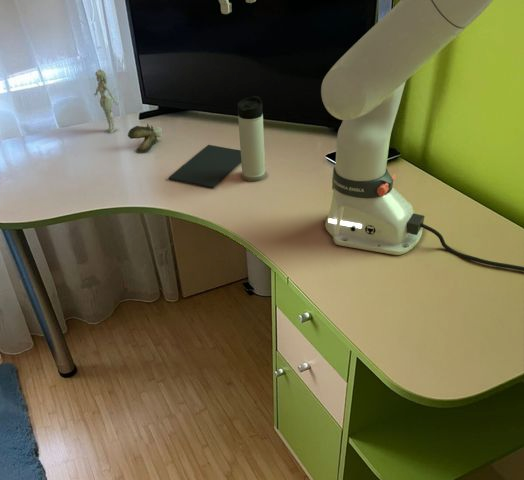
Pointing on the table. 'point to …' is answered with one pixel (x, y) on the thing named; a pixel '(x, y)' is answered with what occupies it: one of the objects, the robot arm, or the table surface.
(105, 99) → the human figurine
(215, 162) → the desk pad
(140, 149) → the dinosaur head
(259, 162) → the travel mug
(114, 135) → the table surface
